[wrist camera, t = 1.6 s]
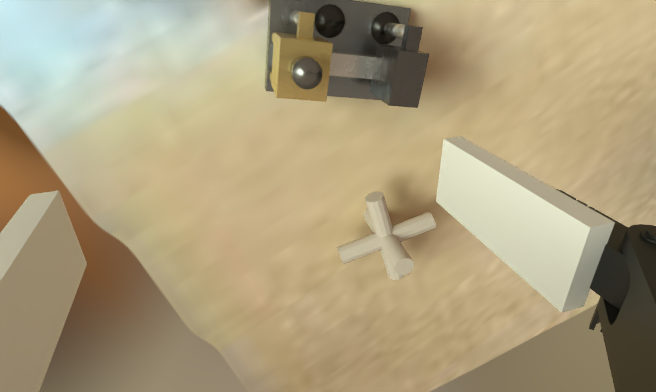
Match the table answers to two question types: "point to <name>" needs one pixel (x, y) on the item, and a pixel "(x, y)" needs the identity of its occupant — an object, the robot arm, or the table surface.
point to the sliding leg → (301, 61)
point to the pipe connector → (386, 237)
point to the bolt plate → (360, 48)
